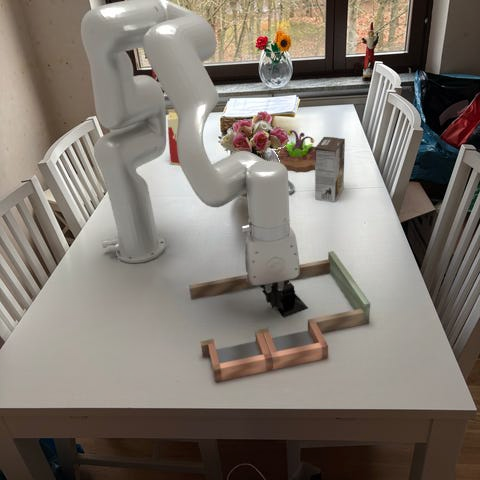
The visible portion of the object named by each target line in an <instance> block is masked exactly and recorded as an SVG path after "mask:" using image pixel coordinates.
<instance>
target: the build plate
mask: <svg viewBox="0 0 480 480" xmlns="http://www.w3.org/2000/svg"><path fill="white" fill-rule="evenodd" d="M261 292H262V293H263V294H264V296H266V293H265V290H264V289H263V290H261ZM281 295H282V300H280V301H279V303H280V307H276V306H275V309H276V310H277V311H278V313H279V314H280V315H281V317H282V318H285V319H286V318H287V317H289V316H292V315H295V314H299V313H300V312H303V311H305V310H308V309H309V307H308V306H307V304H306V303H304V301H303V300H302V299H301V298H300V297H299V296H298V295H297V294H296V290H295V285H293V283H291V282H290V281H288V282H287V283H286V284H285V285H284V287H283V290H281Z"/></svg>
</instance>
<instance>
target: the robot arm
mask: <svg viewBox="0 0 480 480" xmlns="http://www.w3.org/2000/svg"><path fill="white" fill-rule="evenodd" d="M80 25H81V26H80V35H81V41H82V45H83V48H84V50H85V54H86V56H87V59H88V63H89V65H90V66H89V68H90V74H91V76H90V77H91V82H92V83H91V84H92V90H93V98H94V107H95V108H94V109H95V112H96V117H97V120H98V121H99V124H100V125H101V126H102V127H104V128H105V129H107V130H110V132H108V133H106V134H104V135H102V136H100V138H98V140H97V141H96V142H95V144H94V147H93V156H94V159H95V161H96V164H97V166H98V167H99V170H100V172H101V175H102V178H103V180H104V184H105V186H106V189H107V194H108V199H109V201H110V202H109V203H110V205H111V210H112V214H113V217H114V223H115V226H116V230H117V236H116V237H114V238H112V239H111V238H110V239H106V240H105V239H104V240H101V243H102V244H101V245H102V248H103V249H105V248H106V250H107V251H106V252H111V251H115V253H116V256H117V258H118V259H119V260H120V261H122V262H125V263H129V264H140V263H145V262H148V261H151V260H153V259H156V258H157V257H160V255H161V254H163V252H165V249H166V240H165V239H164V238H163V237H162V236H159V234H158V231H157V226H156V221H155V215H154V211H153V205H152V199H151V195H150V191H149V185H148V183H147V181H146V180H145V178H144V177H143V176H141V175H140V174H139V173H138V171H137V169H138V168H139V167H142V166H143V165H145V164H147V163H149V162H152V161H154V160H156V159H158V158H160V157H161V156H162V155H163V154H164V152H165V151H166V147H167V118H166V117H167V115H166V114H167V113H166V111H167V109H166V100H165V95H166V97H167V98H168V100H169V103H170V104H171V106H172V108H173V109H174V110H175V112H176V114H177V116H178V129H177V152H178V159H179V163H180V168H181V171H182V173H183V174H184V177H185V178H186V179H187V182H188V184H189V185H190V186H191V189H192V191H193V192H194V194H196V197H198V199H199V200H200V201H201V202H202V203H204V204H205V205H206V206H207V207H211V208H221V207H223V206H226V205H228V204H229V203H231V202H232V201H234V200H235V199H237V198H238V197H241V196H242V195H245V194H246V196H247V199H246V200H247V209H248V210H247V211H248V219H247V220H248V222H247V224H245V225H241V229H242V233H247V234H246V241H245V253H244V256H245V258H244V260H245V271H246V275H247V278H246V283H247V285H248V286H259V287H258V288H261V289H263V290H265V293H266V295H265V301H266V303H269V304H270V306H271V308H272V309H273V308H275V306H276V307H280V303H279V301H280V300H282V295H281V290H283V287H284V285H285V284H286V283H287V282H288V281H289V280H290V279H294V278H296V277H298V276H299V273H300V265H301V264H300V257H299V256H300V255H299V247H298V242H297V238H296V234H295V231H294V230H293V228H292V227H291V225H290V224H291V222H290V194H289V191H290V190H289V189H290V187H289V186H288V180H289V171H287V169H286V167H285V166H284V165H283V164H281V163H279V162H276V161H269V160H266V159H264V158H262V157H260V156H258V155H257V154H254V153H252V152H250V151H247V150H240V151H237V152H234V153H232V154H230V155H228V156H226V157H224V158H222V159H220V160H218V161H216V162H215V163H212V162H211V160H210V157H209V156H208V153H207V151H206V149H205V146H204V145H205V144H204V128H205V125H206V122H207V120H208V117H209V115H210V114H211V113H212V111H213V110H214V108H216V106H217V104H218V102H219V100H220V96H219V95H220V94H219V92H218V90H217V89H216V87H215V85H214V83H213V81H212V79H211V78H210V77H211V76H210V75H209V74H208V71H207V70H206V68H205V66H204V64H203V62H207V61H208V60H210V59H211V58H212V57H213V56H214V55H215V53H216V50H217V46H218V44H217V43H218V42H217V41H218V40H217V36H216V33H215V30H214V29H213V27H212V26H211V24H210V23H209V22H208V20H206V19H205V17H204V16H203V17H202V15H200V14H198V13H196V12H195V11H193V10H190V9H188V8H186V7H184V6H182V5H179V4H177V3H175V2H173V1H171V0H123V1H122V0H121V1H117V2H112V3H107V4H103V5H99V6H97V7H94V8H92V9H90V10H88V11H87V12H86V13H85V15H84V16H83V17H82V21H81V24H80ZM136 49H143V53H144V56H145V58H146V60H147V61H148V63H149V65H150V67H151V68H152V70H153V72H154V74H155V76H156V78H157V80H158V81H159V83H158V81H157V80H156V79H155V78H153V77H152V76H150V75H145V74H142V75H141V74H140V75H139V74H138V75H134V66H133V63H132V59H131V58H130V56H129V54H128V53H127V51H128V52H129V51H133V50H136ZM163 91H164V92H163ZM164 93H165V95H164ZM111 130H112V131H111ZM289 282H290V281H289ZM270 283H272V284H270ZM275 309H276V308H275Z"/></svg>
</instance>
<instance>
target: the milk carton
mask: <svg viewBox="0 0 480 480" xmlns="http://www.w3.org/2000/svg"><path fill="white" fill-rule="evenodd" d="M166 111H167V112H168V117H167V136H168V139H167V140H168V148H169V159H170V160H169V161H170V165H175V166H180V163H179V159H178V152H177V129H178V116H177V114H176V112H175V110H174V108H173V109H166ZM180 167H181V166H180Z"/></svg>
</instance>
